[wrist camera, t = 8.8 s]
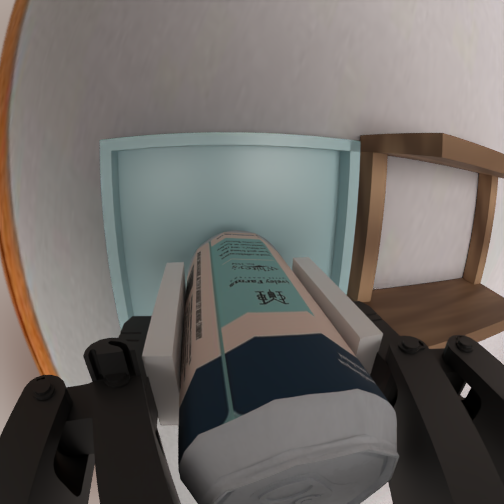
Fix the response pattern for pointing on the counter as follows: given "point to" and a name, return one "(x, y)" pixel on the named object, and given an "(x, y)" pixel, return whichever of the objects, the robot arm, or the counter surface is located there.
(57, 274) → the counter surface
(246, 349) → the beer can
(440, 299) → the cradle
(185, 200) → the tray
